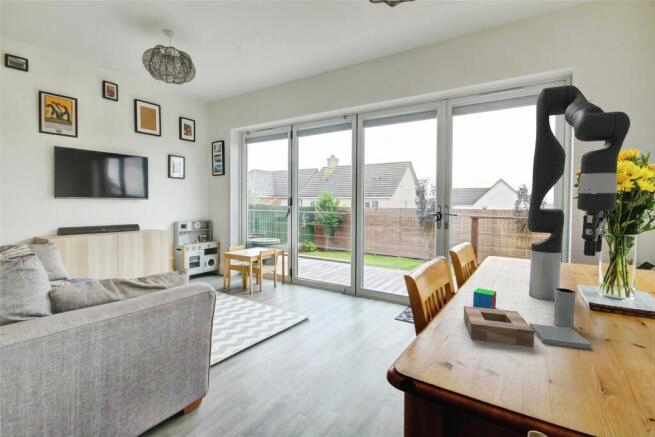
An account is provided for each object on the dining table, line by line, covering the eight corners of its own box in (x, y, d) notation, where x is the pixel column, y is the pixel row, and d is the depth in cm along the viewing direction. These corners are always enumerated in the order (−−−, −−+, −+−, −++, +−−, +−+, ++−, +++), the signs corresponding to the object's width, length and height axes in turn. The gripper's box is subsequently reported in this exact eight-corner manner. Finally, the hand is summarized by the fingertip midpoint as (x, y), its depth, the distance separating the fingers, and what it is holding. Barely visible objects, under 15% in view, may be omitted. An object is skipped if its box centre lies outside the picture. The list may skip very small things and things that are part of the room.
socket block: (463, 319, 92) (464, 306, 92) (516, 325, 88) (516, 311, 88) (470, 338, 79) (471, 323, 79) (533, 346, 75) (534, 330, 75)
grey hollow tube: (577, 329, 86) (579, 293, 85) (558, 327, 86) (560, 292, 86) (567, 323, 90) (569, 288, 89) (550, 321, 91) (552, 287, 90)
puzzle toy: (492, 312, 98) (492, 295, 98) (472, 308, 102) (473, 291, 102) (495, 308, 103) (496, 291, 102) (477, 304, 106) (477, 287, 106)
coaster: (529, 327, 86) (529, 323, 86) (571, 332, 83) (571, 328, 83) (543, 343, 77) (543, 338, 77) (591, 349, 74) (591, 344, 74)
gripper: (584, 192, 87) (580, 248, 88) (572, 191, 77) (568, 255, 79) (620, 191, 81) (616, 252, 82) (612, 191, 72) (607, 259, 73)
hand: (592, 253), depth 80 cm, fingers open, 8 cm apart
